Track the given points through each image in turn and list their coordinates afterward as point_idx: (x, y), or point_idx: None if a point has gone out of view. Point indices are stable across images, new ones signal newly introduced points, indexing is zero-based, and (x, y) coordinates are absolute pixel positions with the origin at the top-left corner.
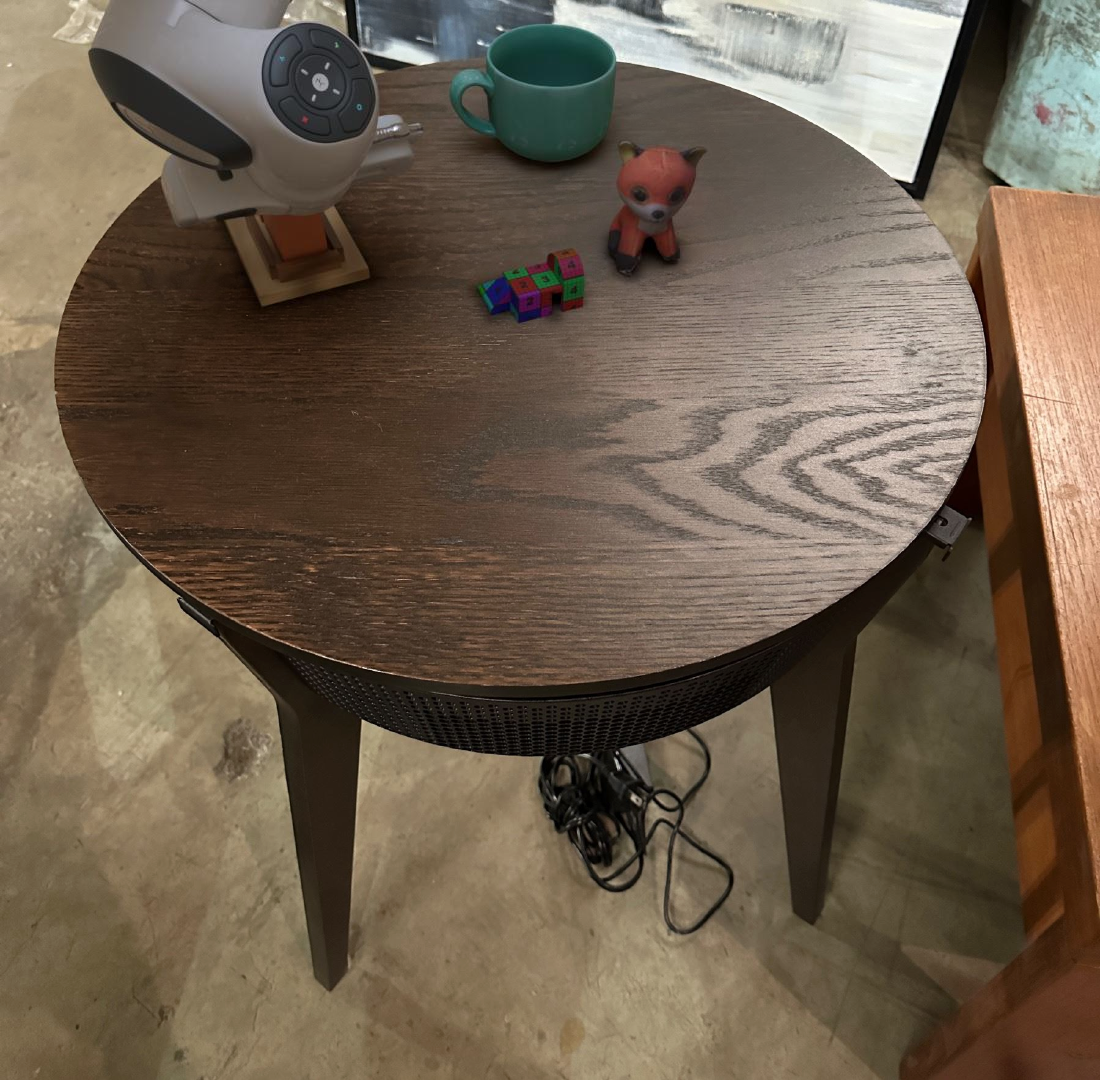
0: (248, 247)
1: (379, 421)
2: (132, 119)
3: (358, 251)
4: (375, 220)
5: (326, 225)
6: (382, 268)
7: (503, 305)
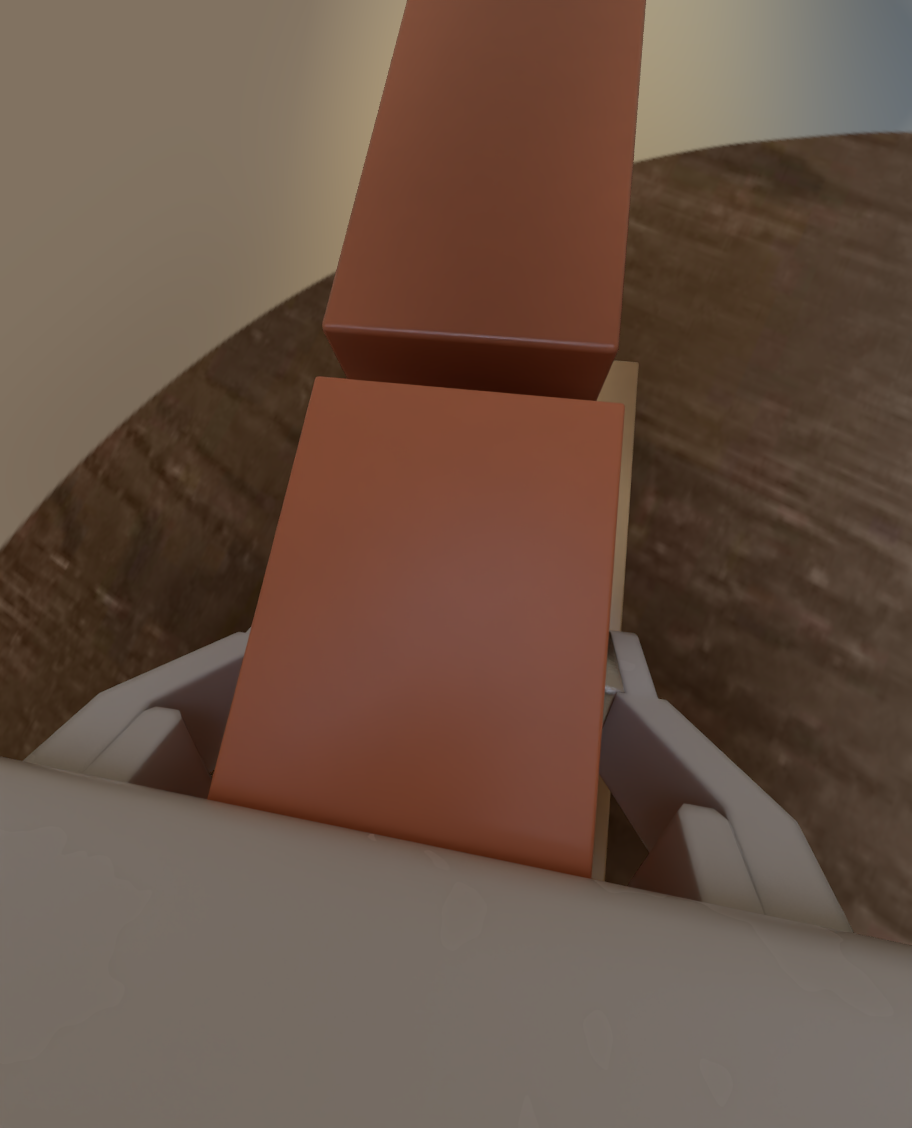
0: None
1: None
2: None
3: (607, 801)
4: (709, 633)
5: None
6: (644, 854)
7: None
